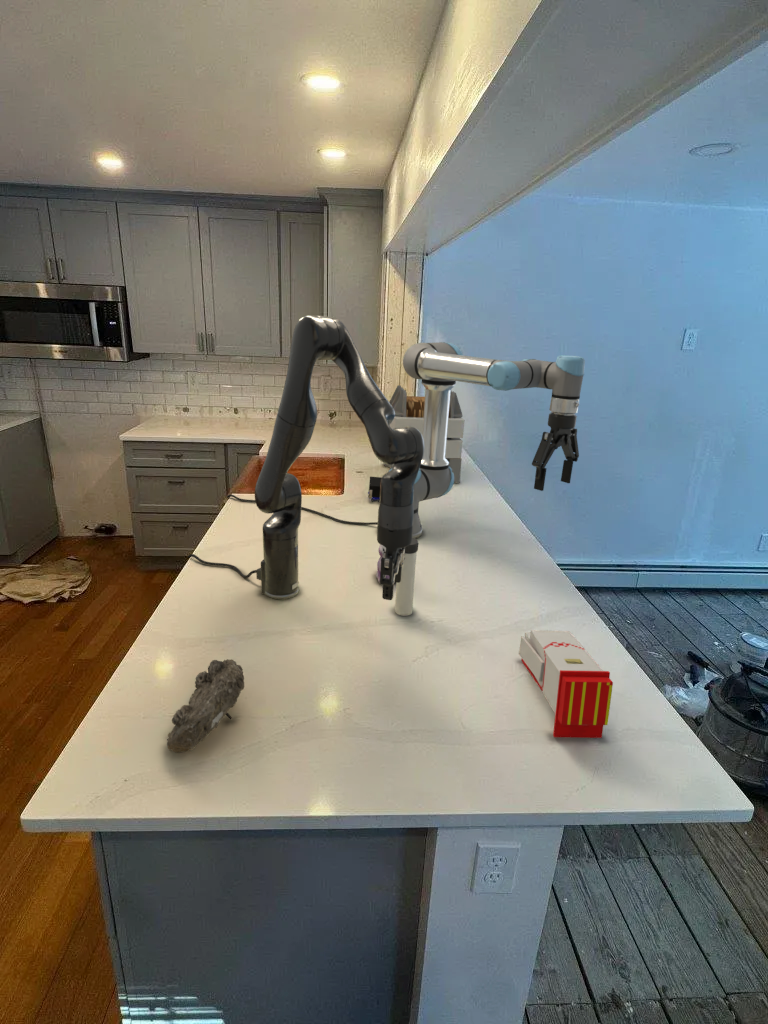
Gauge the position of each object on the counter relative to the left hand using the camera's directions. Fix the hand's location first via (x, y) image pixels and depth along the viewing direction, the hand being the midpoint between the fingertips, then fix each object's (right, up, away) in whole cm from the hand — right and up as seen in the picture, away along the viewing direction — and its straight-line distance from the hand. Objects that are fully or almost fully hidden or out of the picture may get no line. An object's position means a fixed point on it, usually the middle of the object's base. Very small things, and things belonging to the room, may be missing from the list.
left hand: (391, 590), depth 125 cm
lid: (+4, +10, +17) cm, 20 cm away
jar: (+3, -9, +24) cm, 25 cm away
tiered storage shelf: (+15, +36, +150) cm, 155 cm away
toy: (+34, -21, -6) cm, 41 cm away
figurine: (0, -2, +42) cm, 42 cm away
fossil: (-35, -22, -17) cm, 44 cm away
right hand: (+47, +25, +40) cm, 67 cm away
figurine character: (-5, +23, +111) cm, 113 cm away
